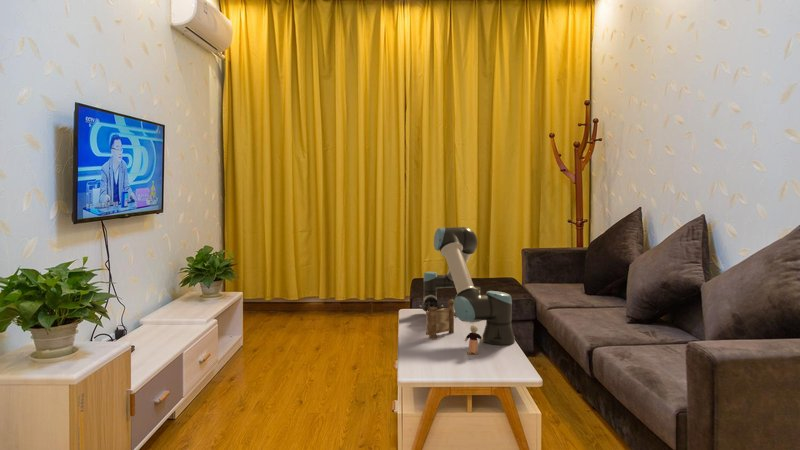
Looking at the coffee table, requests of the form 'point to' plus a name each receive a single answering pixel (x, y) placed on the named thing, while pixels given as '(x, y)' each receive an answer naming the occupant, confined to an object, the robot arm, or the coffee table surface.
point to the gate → (440, 320)
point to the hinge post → (451, 316)
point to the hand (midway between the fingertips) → (432, 312)
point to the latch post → (432, 322)
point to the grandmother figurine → (473, 340)
